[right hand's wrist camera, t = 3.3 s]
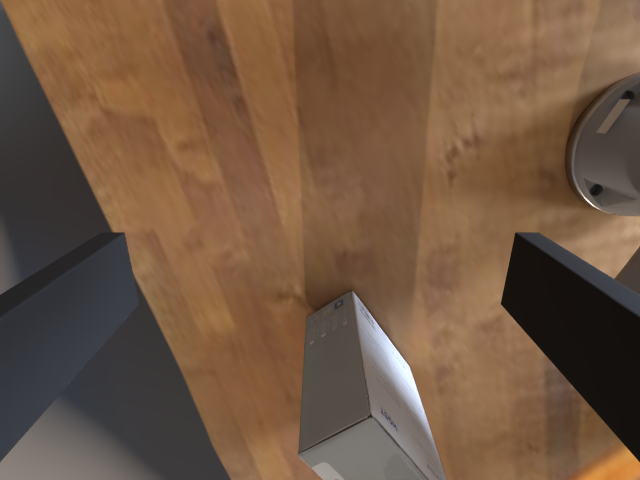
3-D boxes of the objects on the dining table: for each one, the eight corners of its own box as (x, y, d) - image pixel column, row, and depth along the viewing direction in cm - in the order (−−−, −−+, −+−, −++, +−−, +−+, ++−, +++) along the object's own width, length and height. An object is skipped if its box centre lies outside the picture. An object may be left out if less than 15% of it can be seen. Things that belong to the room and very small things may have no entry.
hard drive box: (303, 316, 48) (293, 453, 30) (351, 287, 47) (373, 412, 28) (366, 391, 53) (391, 550, 34) (412, 367, 51) (464, 519, 33)
